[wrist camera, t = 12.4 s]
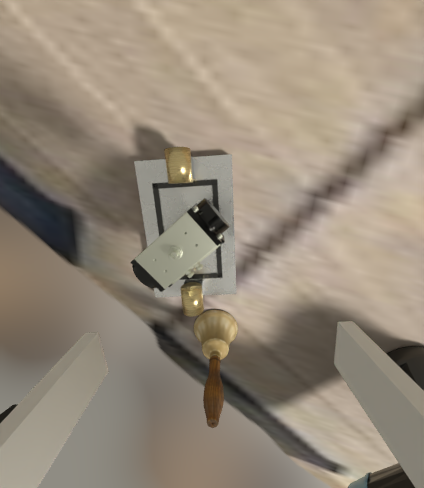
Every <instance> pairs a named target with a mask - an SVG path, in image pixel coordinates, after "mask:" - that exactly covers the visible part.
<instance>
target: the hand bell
mask: <svg viewBox="0 0 424 488" xmlns="http://www.w3.org/2000/svg"><path fill="white" fill-rule="evenodd" d="M237 331H238V326H237V323H236V321H235V319H234V318H233V317H232V316H231V315H230V314H229V313H227V312H225V311H221V310H209V311H206V312H204V313H202V314H201V315H200V316H198V318H197V319H196V321H195V323H194V333H195V336H196V337H197V339H198V340H199V341H200V342H201V343H202V352H203V354H204V356H205V357H206V358H208V359H210V360H209V362H210V363H209V376H208V379H207V381H206V384H205V390H204V400H203V401H204V409H205V413H206V418H207V424H208V426H209V427H212V428H214V427H216V426H217V425H218V422H219V417H220V414H221V411H222V407H223V401H224V393H223V385H222V381H221V378H220V360H221V359H223V358H225V357H226V356H227V354H228V351H229V344H230V343H231V342H232V341H233V340H234V339H235V337H236V335H237Z"/></svg>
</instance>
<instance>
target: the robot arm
mask: <svg viewBox="0 0 424 488" xmlns="http://www.w3.org/2000/svg"><path fill="white" fill-rule="evenodd" d="M334 365H335V367H336V368H337V370H338V371H339V373H340V374H341V376H342V377H343V379H344V380H345V382H346V383H347V385H348V386H349V388H350V389H351V391H352V392H353V394H354V395H355V397H356V398H357V400H358V401H359V403H360V405H361V406H362V408H363V409H364V411H365V412H366V414H367V415H368V417H369V418H370V420H371V421H372V423H373V424H374V426H375V427H376V429H377V430H378V432H379V433H380V435H381V436H382V438H383V439H384V441H385V443H386V444H387V446H388V447H389V449H390V450H391V452H392V453H393V455H394V456H395V458H396V459H397V461H398V462H399V463H398V464H395V465H393V466H390V467H387V468H385V469H382V470H380V471H377V472H374V473H371V472H370V473H367V474H366V475H365V476H364V477H362V478H360V479H358V480H357V481H354V482H352V483H351V484H350V485H349V486H348V488H424V347H405V348H401V349H397V350H395V351H392V352H390V353H388V354H386V353H385V352H384V351H383V350H382V349H381V348H380V347H379V346H378V345H377V344H376V343H375V342H374V341H373V340H371V339H370V338H369V337H368V336H367V335H366V334H365V333H364V332H363V331H362V330H361V329H360V328H359V327H358V326H357V325H356V324H355V323H354V322H353V321H343V322H338V325H337V336H336V346H335V357H334ZM108 372H109V371H108V367H107V363H106V359H105V355H104V351H103V348H102V344H101V340H100V336H99V333H98V332H92V333H85V334H84V335H83V336H82V337H81V338H80V339H79V340H78V341H77V342H76V343H75V345H74V346H73V347H72V348H71V349H70V350H69V351H68V352H67V353H66V354H65V355H64V356H63V357H62V358H61V360H59V362H58V363H57V364H56V365H55V366H54V367H53V368H52V369H51V370H50V371H49V372H48V373H47V374H46V375H45V376H44V377H43V379H42V380H41V381H40V382H39V383H38V384H37V385H36V386H35V387H34V388H33V389H32V390H31V391H30V393H28V395H27V396H26V397H25V398H24V399H23V400H22V401H21V402H20V403H19V404H18V405H12V406H11V407H10V408H8V409H7V410H6V411H4V412H3V413H2V414H0V488H38V486H39V485H40V483H41V481H42V480H43V478H44V476H45V475H46V473H47V472H48V470H49V468H50V466H51V465H52V463H53V462H54V460H55V458H56V457H57V455H58V453H59V452H60V450H61V449H62V447H63V445H64V444H65V442H66V440H67V439H68V437H69V435H70V434H71V432H72V431H73V429H74V427H75V426H76V424H77V422H78V420H79V419H80V417H81V416H82V414H83V413H84V411H85V409H86V408H87V406H88V404H89V403H90V401H91V399H92V397H93V396H94V395H95V393H96V391H97V390H98V388H99V386H100V384H101V383H102V381H103V380H104V378H105V376H106V375H107V373H108Z"/></svg>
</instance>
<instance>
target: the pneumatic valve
mask: <svg viewBox="0 0 424 488" xmlns="http://www.w3.org/2000/svg"><path fill="white" fill-rule="evenodd" d="M228 228H229V225H228V223H227V222H226V220H225V219H224V218H223V216H222V215H221V214H220V213H219V212H218V210H217V209H216V208H215V207H214V206H213V205H212V204H211V203H210V202H209V201H208V200H207V199H206V198H204V199H203V200H202V201H201V202H199V203H198V204H197V203H196V204H195V205H194V206H193V207H191V208H190V209H189V210H188V211H187V212H186V213H185V214H184V215H182V216H181V217H180V218H179V219H178V220H177V221H176V222H175V223H174V224H173V225H171V226H170V227H169V228H168V229H167V230H166V231H165V232H164V233H163V234H161V235H160V236H159V237H158V238H157V239H156V240H155V241H154V242H153V243H151V244H150V245H149V246H148V247H147V248H146V249H145V250H144V251H143V252H142V253H140V254H139V255H138V256H137V257H136V258H135V259H134V260H133V261H132V262H131V263H132V264H133V266H132V267H133V271H134V274H135V275H136V277H137V278H138V279H139V280H140V282H142V283H143V284H144V285H146V286H148V287H150V288H157V289H158V290H159V291H160V292H162V291H163V290H165V289H166V288H167V287H170V286H172V285H173V284H174V283H175V282H176V281H178V280H179V279H180V278H181V277H183V276H184V275H185V274H186V275H188V277H189V278H191V277H192V276H193V275H194V272H192V271H191V269H192V268H194V267H195V268H196V267H197V268H196V269H197V270H198V271H199V270H201V269H202V268H203V265H202V264H200V262H201V261H202V260H203V259H204V258H206V257H207V256H208V255H209V254H211V253H212V252H213V251H214V250H215V249H217V248H218V247H219V246H220V245H221V244H223V243H224V242H225V239H224V235H223V234H222V233H223V232H224V231H226V230H227V229H228Z"/></svg>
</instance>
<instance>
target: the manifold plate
mask: <svg viewBox="0 0 424 488" xmlns="http://www.w3.org/2000/svg"><path fill="white" fill-rule="evenodd" d="M164 151H165V159H159V160H145V161H134V164H135V170H136V177H137V183H138V190H139V196H140V202H141V209H142V215H143V222H144V228H145V235H146V241H147V247H148V246H149V245H150V244H151V243H153V242H154V241H155V240H156V239H157V238H158V237H159V236H160V235H161V234H163V233H164V232H165V231H166V230H167V229H168V228H169V227H170V226H171V225H173V224H174V223H175V222H176V221H177V220H178V219H179V218H180V217H181V216H182V215H184V214H185V213H186V212H187V211H188V210H189V209H190V208H191V207H193V206H194V205H195V204H196V203H197V204H198V203H199V202H201V201H202V200H203V199H204V198H206V199H207V200H208V201H209V202H210V203H211V204H212V205H213V206H214V207H215V208H216V209H217V210H218V212H219V213H220V214H221V215H222V216H223V218H224V219H225V220H226V222H227V223H228V225H229V228H228V229H227V230H226V231H224V232H223V233H222V234H223V235H224V239H225V242H224V243H223V244H221V245H220V246H219V247H218V248H217V249H215V250H214V251H213V252H212V253H211V254H209V255H208V256H207V257H206V258H204V259H203V260H202V261H201V262H200V264H202V265H203V268H202V269H201V270H199V271H198V270H197V269H196V268H197V267H196V268H195V267H194V268H192V269H191V271H192V272H194V275H193V276H192V277H191V278H189V277H188V275H186V274H185V275H184V276H183V277H181V278H180V279H179V280H178V281H176V282H175V283H174V284H173V285H172V286H170V287H167V288H166V289H165V290H163V291H162V292H160V291H159V290H158V289H157V288H154V292H155V297H175V296H181V298H182V306H183V313H184V314H185V315H186V316H197V315H200V314H201V313H202V312H203V310H204V307H203V301H204V295H221V294H236V269H235V239H234V210H233V180H232V154H229V155H215V156H201V157H192V155H191V153H190V148H187V147H172V148H167V149H165V150H164Z"/></svg>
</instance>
